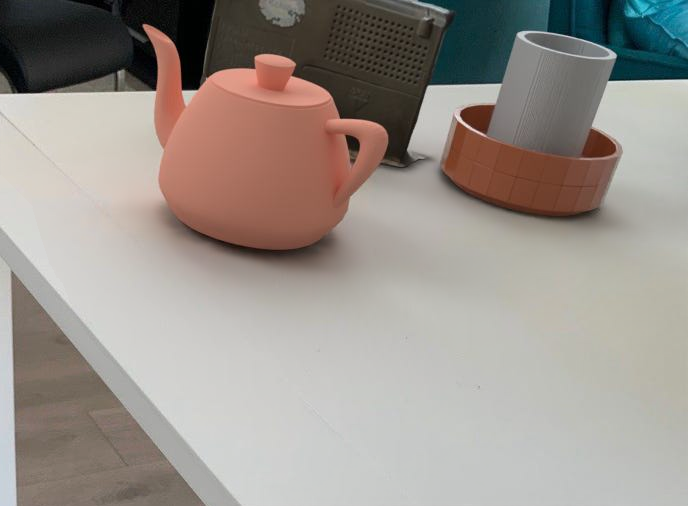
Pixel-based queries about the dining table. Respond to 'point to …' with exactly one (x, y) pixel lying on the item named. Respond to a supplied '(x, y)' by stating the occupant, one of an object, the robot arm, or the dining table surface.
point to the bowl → (526, 168)
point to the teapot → (257, 152)
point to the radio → (341, 55)
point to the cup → (551, 93)
